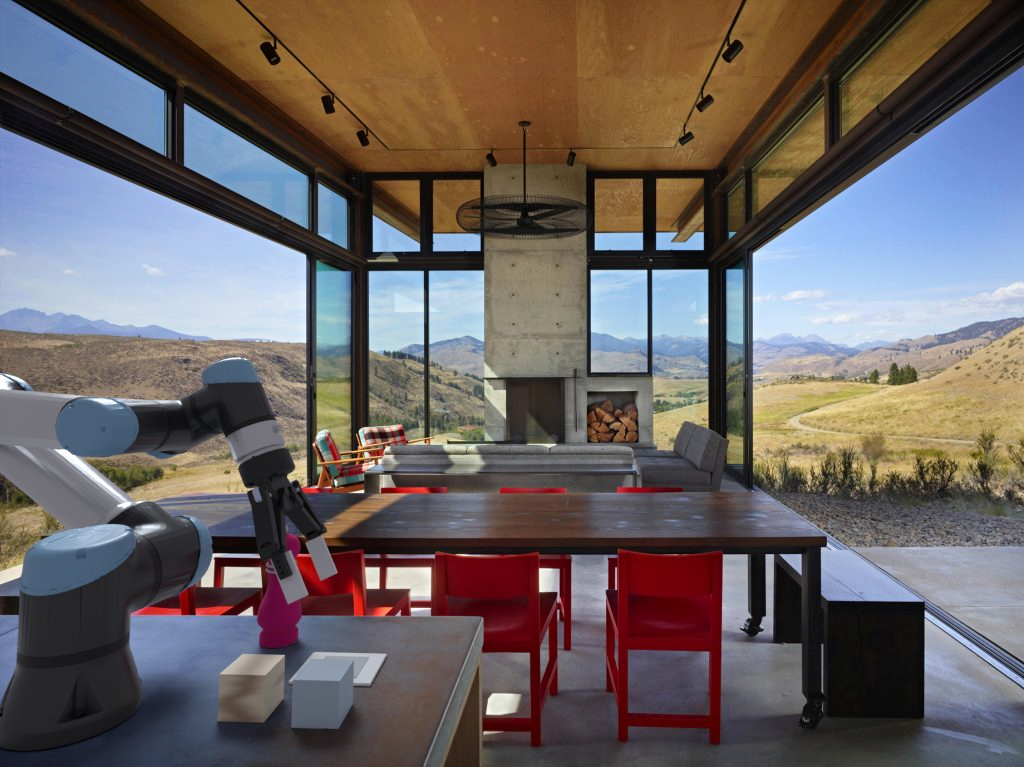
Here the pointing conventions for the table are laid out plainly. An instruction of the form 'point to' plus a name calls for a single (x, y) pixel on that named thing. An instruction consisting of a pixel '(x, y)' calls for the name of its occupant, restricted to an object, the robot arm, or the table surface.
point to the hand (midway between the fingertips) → (315, 587)
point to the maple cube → (251, 688)
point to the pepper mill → (279, 607)
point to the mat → (363, 665)
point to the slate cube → (322, 694)
